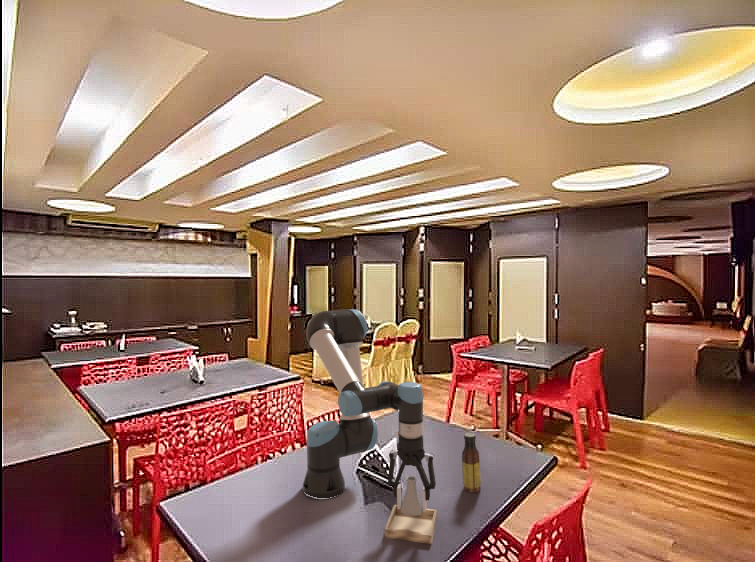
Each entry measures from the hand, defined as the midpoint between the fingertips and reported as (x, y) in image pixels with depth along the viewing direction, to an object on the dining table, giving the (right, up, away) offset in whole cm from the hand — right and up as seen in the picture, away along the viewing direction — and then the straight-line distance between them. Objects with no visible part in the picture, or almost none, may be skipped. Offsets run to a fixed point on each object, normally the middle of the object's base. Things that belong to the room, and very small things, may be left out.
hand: (411, 508), depth 134 cm
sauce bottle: (+23, -5, +23) cm, 33 cm away
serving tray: (0, -6, 0) cm, 6 cm away
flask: (0, -1, 0) cm, 1 cm away
